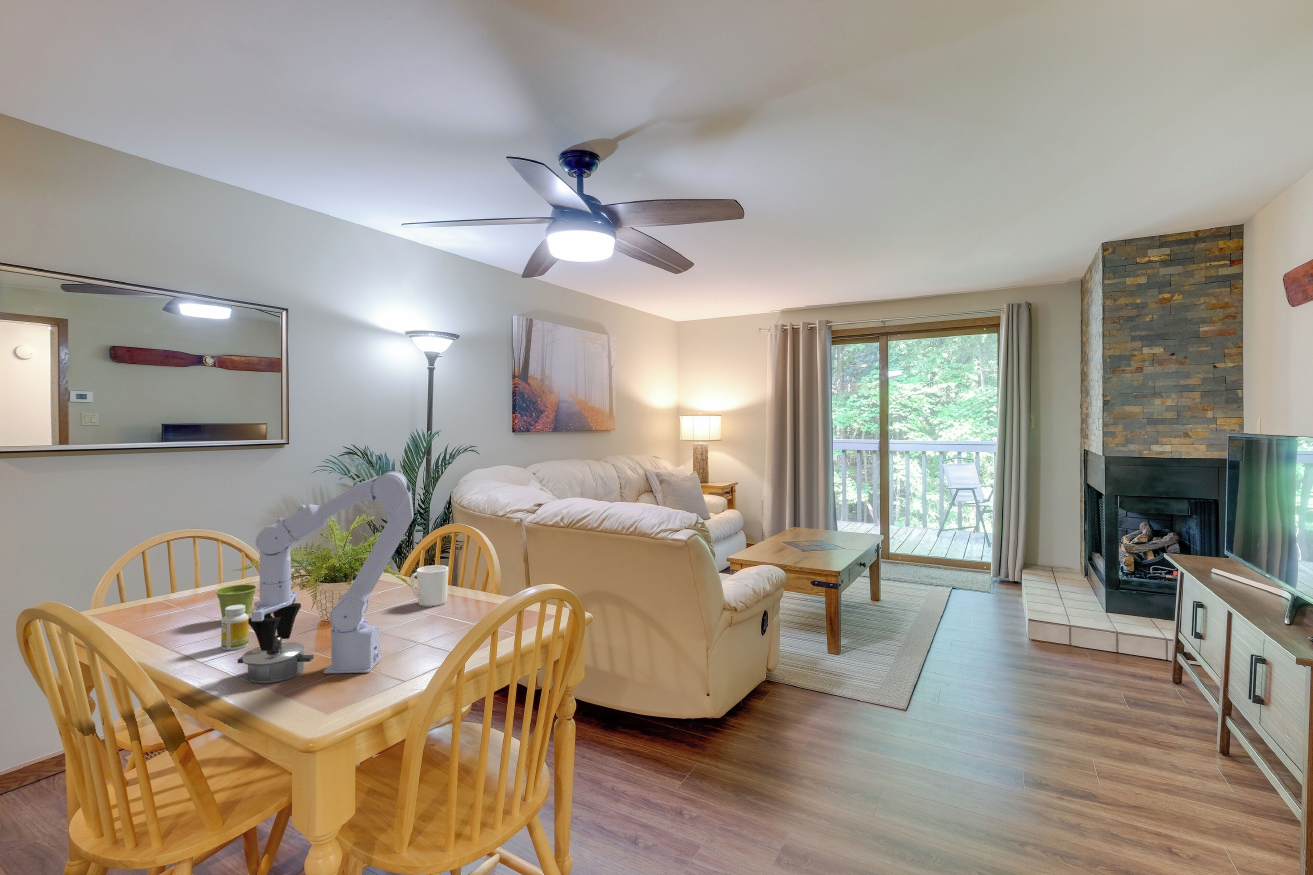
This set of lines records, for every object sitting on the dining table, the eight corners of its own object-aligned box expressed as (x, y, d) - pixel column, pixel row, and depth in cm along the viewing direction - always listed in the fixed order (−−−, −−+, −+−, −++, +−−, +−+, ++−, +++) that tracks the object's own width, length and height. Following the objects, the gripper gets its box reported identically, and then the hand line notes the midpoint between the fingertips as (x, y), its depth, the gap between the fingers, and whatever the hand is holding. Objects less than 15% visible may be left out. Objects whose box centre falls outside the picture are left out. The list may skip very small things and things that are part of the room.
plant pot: (261, 613, 172) (261, 582, 171) (251, 624, 163) (251, 591, 162) (222, 616, 169) (222, 585, 168) (209, 627, 160) (209, 594, 159)
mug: (441, 596, 190) (441, 563, 189) (453, 603, 183) (453, 569, 183) (404, 603, 182) (404, 569, 182) (416, 610, 176) (416, 575, 175)
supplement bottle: (216, 651, 144) (216, 610, 143) (229, 642, 149) (229, 603, 149) (240, 650, 144) (240, 610, 144) (253, 642, 150) (253, 603, 149)
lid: (314, 650, 137) (314, 629, 137) (284, 670, 125) (284, 647, 125) (264, 649, 137) (264, 628, 137) (229, 670, 126) (229, 646, 125)
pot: (322, 663, 137) (322, 645, 137) (300, 682, 127) (300, 663, 127) (253, 665, 136) (253, 647, 135) (225, 684, 126) (225, 665, 126)
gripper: (274, 572, 138) (274, 632, 138) (235, 590, 123) (235, 657, 123) (306, 572, 138) (307, 632, 139) (272, 589, 124) (272, 656, 124)
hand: (275, 644), depth 131 cm, fingers open, 6 cm apart
